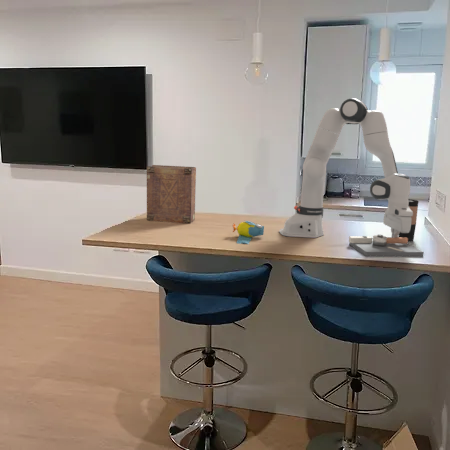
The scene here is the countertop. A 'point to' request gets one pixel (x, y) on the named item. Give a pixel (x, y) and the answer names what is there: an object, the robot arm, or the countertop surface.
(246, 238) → the yellow and blue toy
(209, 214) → the countertop surface
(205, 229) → the countertop surface
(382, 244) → the multicoloured piece
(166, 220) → the book
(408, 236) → the travel mug
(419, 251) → the stand
